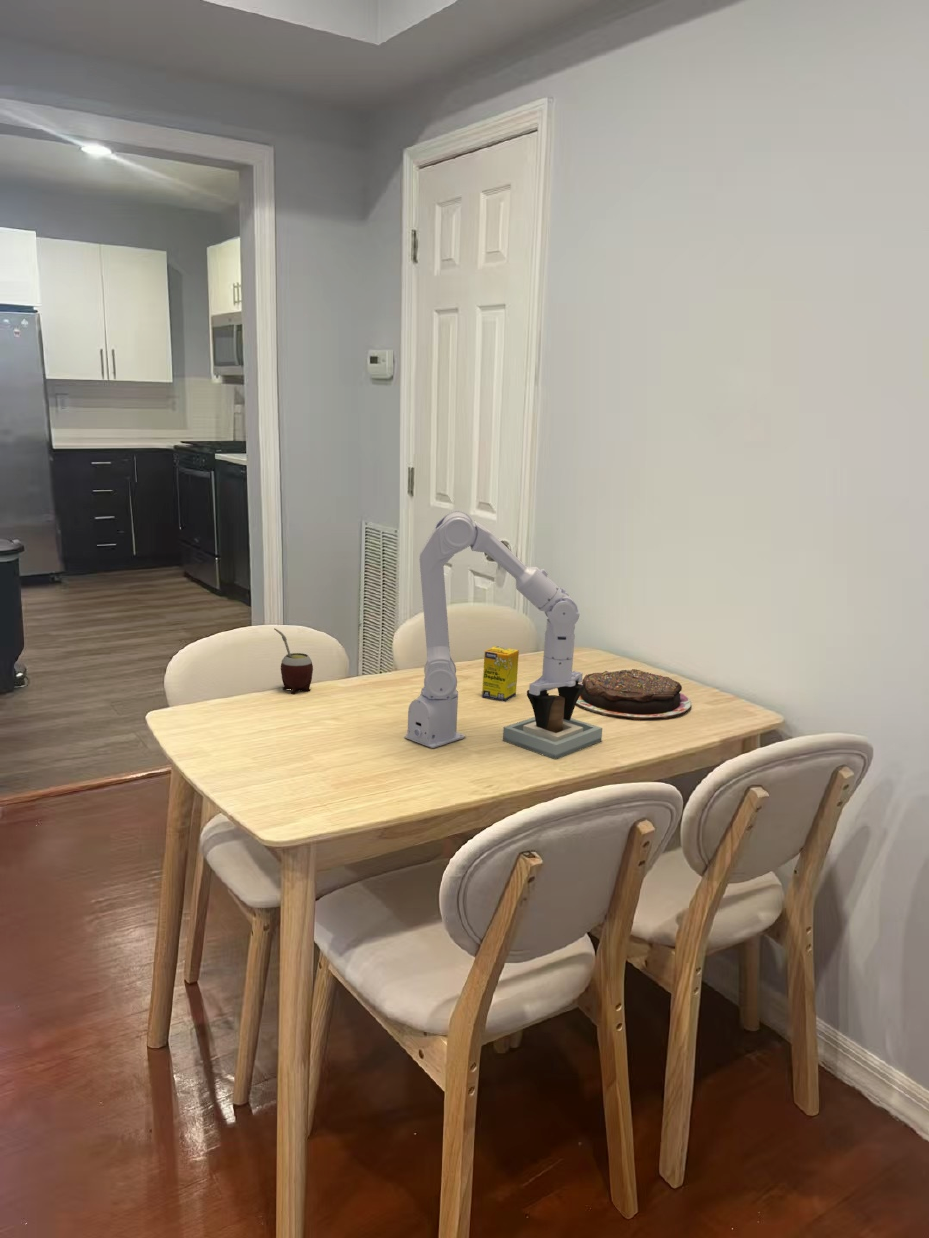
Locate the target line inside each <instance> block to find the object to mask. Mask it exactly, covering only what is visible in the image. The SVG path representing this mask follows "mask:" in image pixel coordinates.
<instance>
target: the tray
mask: <svg viewBox="0 0 929 1238" xmlns="http://www.w3.org/2000/svg"><path fill="white" fill-rule="evenodd" d="M563 721H564V722H567V723H571V724H574V725H577V726H580V727H583V732H581V733H578V734H576V735H573V736H570V737H567V738H565V739H562V740H559V741H557V742H554V741H551V740H548V739H545V738H542V737H539V736H536V735H533V734H530V733H527V732H524V731H523V726H524V725H527V724H530V723H533V722H536V720H535V716H533V717H530V718H527V719H524V720H520V721H518V722H515V723H512V724H508V725H507V726H503V729H502V741H503V742H506V743H508V744H510V745H514V746H517V747H520V748H522V749H525V750H528V751H531V752H534V753H537V754H539V755H542V754H543V755H542V756H545V757H548V758H550V759H553V760H558V759H560V758H563V757H566V756H568V755H570V754H572V753H575V752H578V751H580V749H581V750H583V749H585V748H588V747H590V746H593V745H596V744H598V743H600V742H602V739H603V738H602V737H603V727H601V726H597V725H594V724H591V723H588V722H585V721H581V720H578V719H575V718H572V717H571V719H570V720H569V721H568V720H565V719H563ZM582 748H583V749H582ZM567 754H568V755H567ZM562 756H563V757H562Z"/></svg>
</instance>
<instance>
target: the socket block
mask: <svg viewBox="0 0 929 1238" xmlns="http://www.w3.org/2000/svg"><path fill="white" fill-rule="evenodd" d="M523 731H524V732H527V733H530V734H533V735H536V736H539V737H542V738H545V739H548V740H551V741H554V742H557V741H559V740H562V739H565V738H567V737H570V736H573V735H576V734H578V733H581V732H583V727H580V726H577V725H574V724H571V723H567V722H564V721H563V731H561V732H558V733H554V732H551V731H548V730H545V729H542V728H540V727H537V725H536V722H533V723H530V724H527V725H524V726H523Z"/></svg>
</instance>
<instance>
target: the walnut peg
mask: <svg viewBox="0 0 929 1238" xmlns="http://www.w3.org/2000/svg"><path fill="white" fill-rule="evenodd" d="M549 695H550V696H554V697H555V700H554V702H553V704H552V707H551V710H550V714H549V721H548V726H547V728H546V729H545V730H548V731H551V732H554V733H558V732H561V731H563V717H564V703H565V698H564V697H562V696H559V695H556V694H549ZM542 729H543V728H542Z"/></svg>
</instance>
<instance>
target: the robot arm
mask: <svg viewBox="0 0 929 1238" xmlns="http://www.w3.org/2000/svg"><path fill="white" fill-rule="evenodd" d="M474 523H475V525H474ZM469 547H470V549H471V551H472V552H475V553H476V552H477V553H478V552H479V553H484V554H486V555H488V556H489V558H491V559H492V560H494V562H495V563H496V564H498V565H499V566H500V567H501V568H503V570H505V571H506V572H507V573H509V575H510V576H511V577H513V578H514V579H515V589H516V590H517V591H518V592H519V593H520V594H521V595H523V597H525V599H527V600H528V601H529V602H530V603H531V604H532V605H533V606H535V608H536V609H538V610H539V611H540V612H544V614H545V616H546V617H547V619H546V628H545V633H544V644H543V647H544V648H543V656H542V657H543V659H542V675H541V676H540V677H538V678H537V679H536V680H535V681H533V682H531V683H529V686H528V690H527V691H526V696H527V698H528V700H529V702H530V704H531V707H532V710H533V715H534V717H535V720H536V725H537V727H540V728H543V729H546V728H547V726H548V721H549V714H550V710H551V707H552V704H553V702H554V700H555V697H554V696H550V695H551V694H550V693H548V691H551V690H555V689H557V692H558V696H562V697H564V698H565V703H564V717H563V719H565V720H568V721H569V720H570V719H571V718H572V716H573V713H574V710H575V707H576V702H577V700H578V698H579V697H580V695H581V693H582V692H583V691H584V686H583V685H581V684H580V683H582V680H583V672H581V671H576V670H574V671H573V664H574V654H575V653H574V651H575V650H574V649H575V637H576V636H575V629H576V624H577V622H578V621H579V619H580V613H579V609H578V605H577V604H576V603H575V601H574V600H573V598H572V597H571V596H570V594H569V593H567V591H566V589H565V588H564V587H563V586H560V587H559V586H558V584H556V583H555V582H554V581H553V580H552V579H551V578H550V577H548V575H549V573H548V572H547V570H546V569H545V568H541V569H540V568H539V567H538V566H526V565H525V564H524V563H523V562H522V561H521V560H520V559H519V558H518V557H517V556H516V555H515V554H514V553H513V552H512V551H511V550H510V549H509V548H508V547H507V546H506V545H505V544H504V543H503V542H502V541H501V540H500V539H499V538H498V537H497V536H496V535H495V534H494V533H493V532H492V531H490V530H489V529H488V528H487V527H485V526H484V525H482V524H481V523H479V522H478V521H476V520H474V522H473V520H472V517H471V516H470V515H468V513H466V512H464V511H460V510H453V511H451V512H449V513H447V514H446V515H444V517H442V518H441V519H439V521H437V522H436V524H435V526H434V527H433V530H432V532H431V533H430V535H429V536H428V539H427V540H426V542H425V544H424V545H423V547H422V549H421V551H420V553H419V568H420V569H419V571H420V572H419V573H420V583H421V597H422V605H423V607H422V608H423V619H424V631H425V633H424V634H425V646H426V659H427V660H426V662H425V666H424V668H423V670H424V671H423V673H424V678H423V687H422V688H421V690H420V694H419V696H418V697H417V698H416V699H414V700H412V701H411V702H410V704H409V706H408V710H407V734H404V738H405V739H407V740H410V741H413V742H415V743H417V744H420V745H423V746H425V747H427V748H430V749H431V748H432V749H434V748H435V749H436V748H437V747H441V746H444V745H447V744H450V743H453V742H456V741H459V740H461V739H465V738H466V737H467V736H466V735H465V734H463V733H461V732H458V731H457V728H458V727H457V726H458V725H457V724H458V707H459V706H458V704H459V703H458V702H459V701H458V700H459V691H458V689H457V687H458V678H457V675H456V674H457V666H456V664H455V662H454V660H453V659H452V657H451V653H450V652H451V649H450V638H449V637H450V635H449V625H448V624H449V623H448V621H449V620H448V609H447V594H446V582H445V581H446V580H445V569H444V568H445V565H446V564H447V563H448V562H449V561H450V560H451V559H452V558H453V557H454V556H455V554H458V553H459V552H462V551H463V550H465V549H467V548H469Z"/></svg>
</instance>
